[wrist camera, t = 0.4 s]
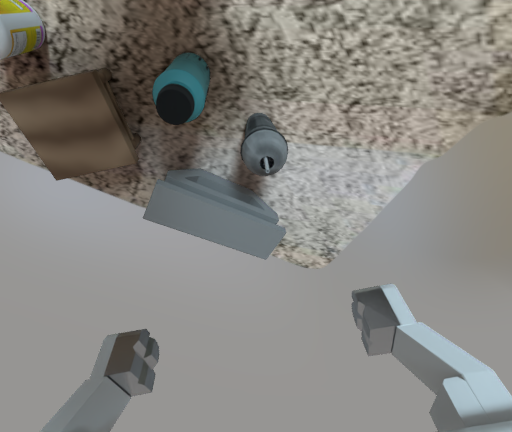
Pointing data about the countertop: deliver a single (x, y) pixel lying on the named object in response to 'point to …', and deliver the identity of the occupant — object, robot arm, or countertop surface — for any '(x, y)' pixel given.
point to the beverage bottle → (182, 89)
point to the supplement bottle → (19, 28)
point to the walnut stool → (74, 123)
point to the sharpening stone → (215, 211)
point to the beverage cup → (263, 146)
